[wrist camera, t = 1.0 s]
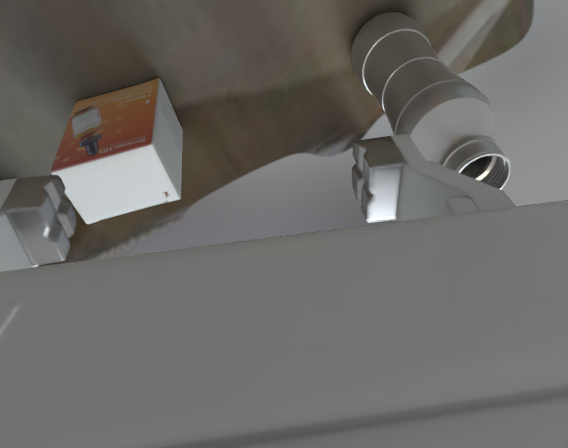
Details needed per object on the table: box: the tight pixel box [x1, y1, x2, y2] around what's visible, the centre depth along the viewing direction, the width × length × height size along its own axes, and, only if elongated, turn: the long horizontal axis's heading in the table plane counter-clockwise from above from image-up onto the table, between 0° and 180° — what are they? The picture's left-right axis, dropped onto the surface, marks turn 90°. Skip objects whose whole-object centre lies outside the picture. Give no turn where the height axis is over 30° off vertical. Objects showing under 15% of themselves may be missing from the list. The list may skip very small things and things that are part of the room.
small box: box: [51, 78, 182, 224], centre depth 40 cm, size 8×6×10 cm
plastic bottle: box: [351, 12, 511, 190], centre depth 36 cm, size 6×7×20 cm
